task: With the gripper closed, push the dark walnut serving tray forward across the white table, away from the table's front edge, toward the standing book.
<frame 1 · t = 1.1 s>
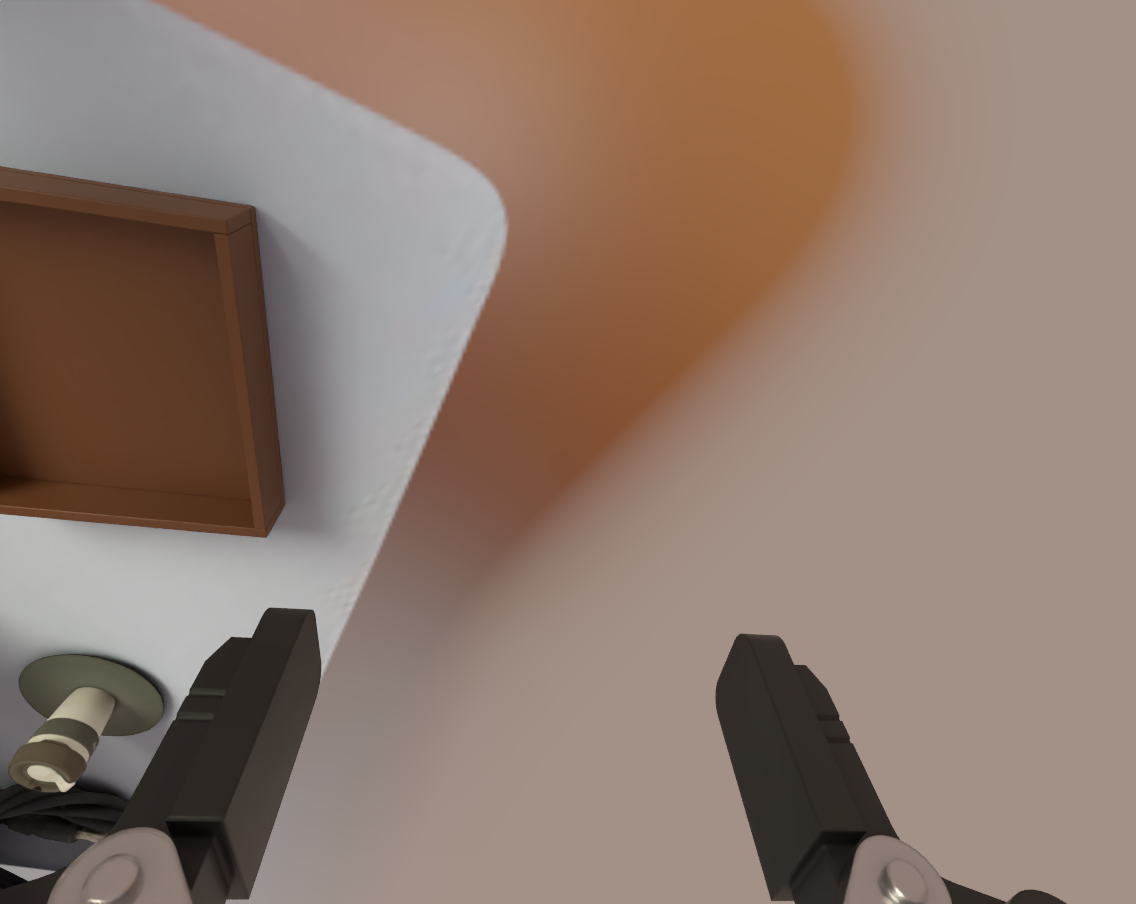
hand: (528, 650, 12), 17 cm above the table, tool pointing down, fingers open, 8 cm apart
tray: (115, 357, 25), on the table
cable: (53, 831, 45), on the table, touching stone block
olive disc with post: (98, 695, 37), on the table
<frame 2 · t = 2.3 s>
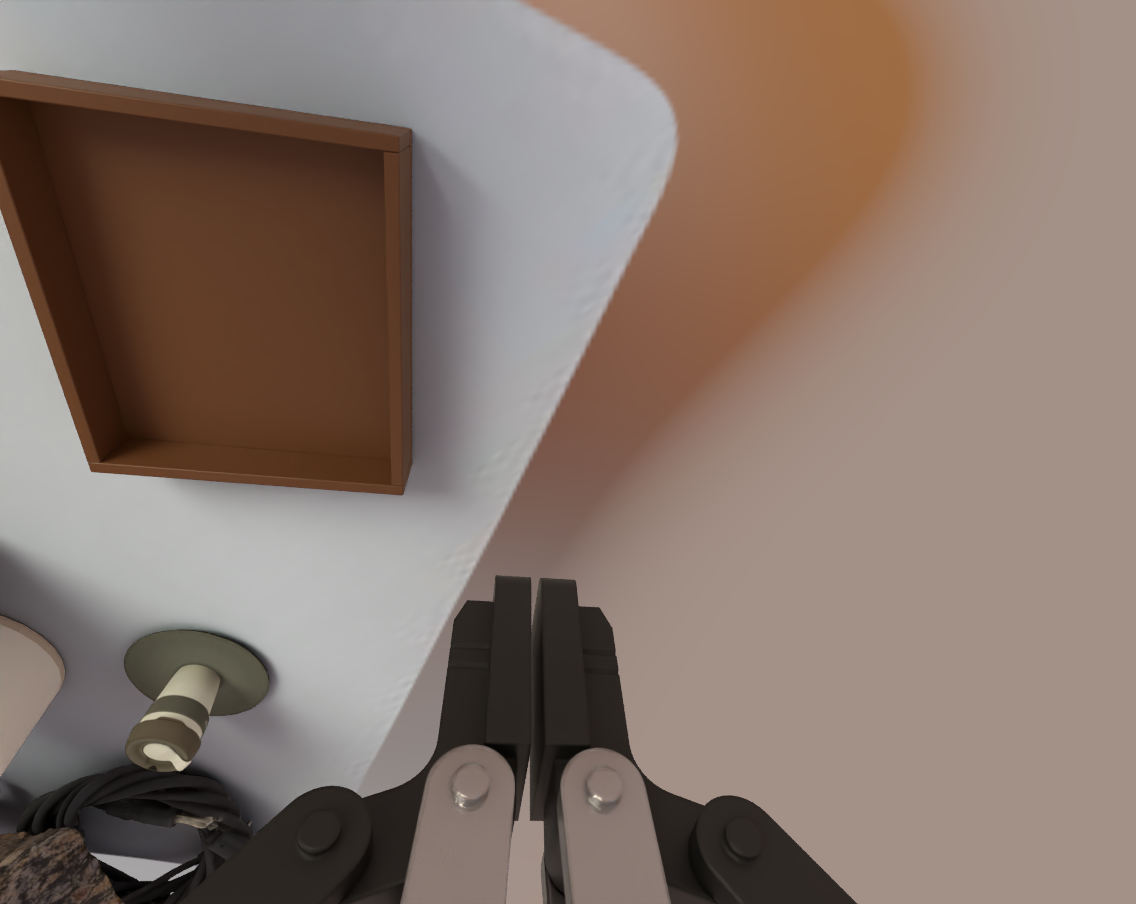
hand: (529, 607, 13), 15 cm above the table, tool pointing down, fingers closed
tray: (250, 303, 24), on the table
cable: (144, 817, 44), on the table, touching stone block
olive disc with post: (202, 673, 35), on the table
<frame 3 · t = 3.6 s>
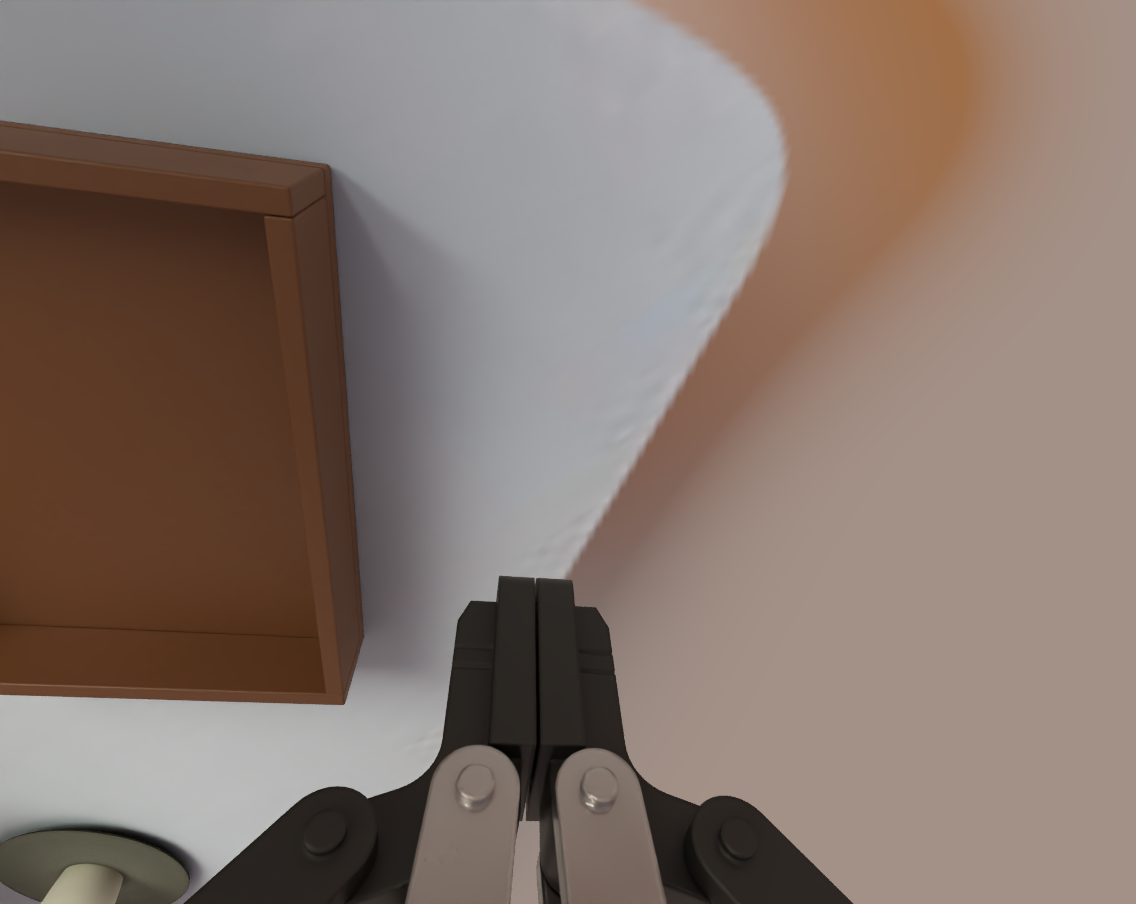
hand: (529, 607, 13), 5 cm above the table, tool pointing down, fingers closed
tray: (91, 436, 15), on the table
olive disc with post: (99, 868, 27), on the table
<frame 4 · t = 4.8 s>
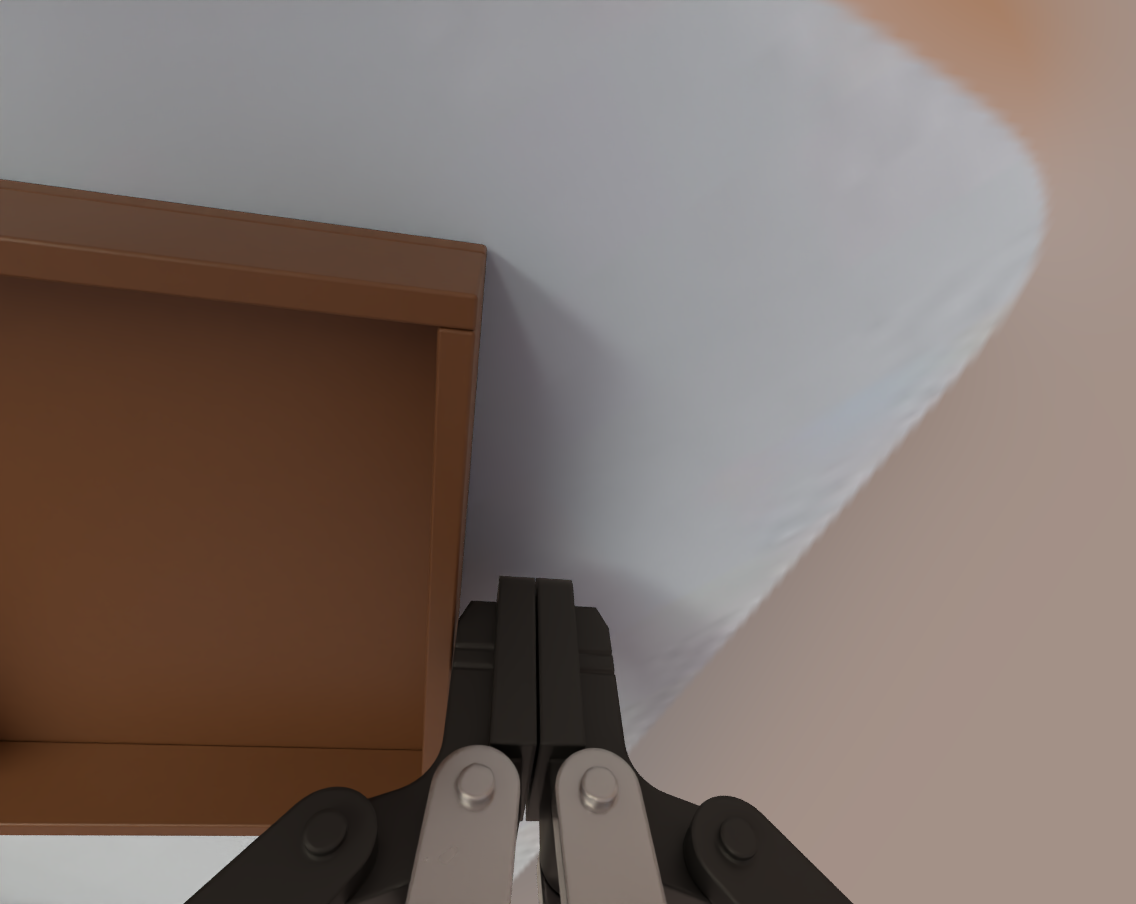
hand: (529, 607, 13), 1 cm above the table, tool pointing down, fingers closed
tray: (161, 543, 13), on the table, touching gripper
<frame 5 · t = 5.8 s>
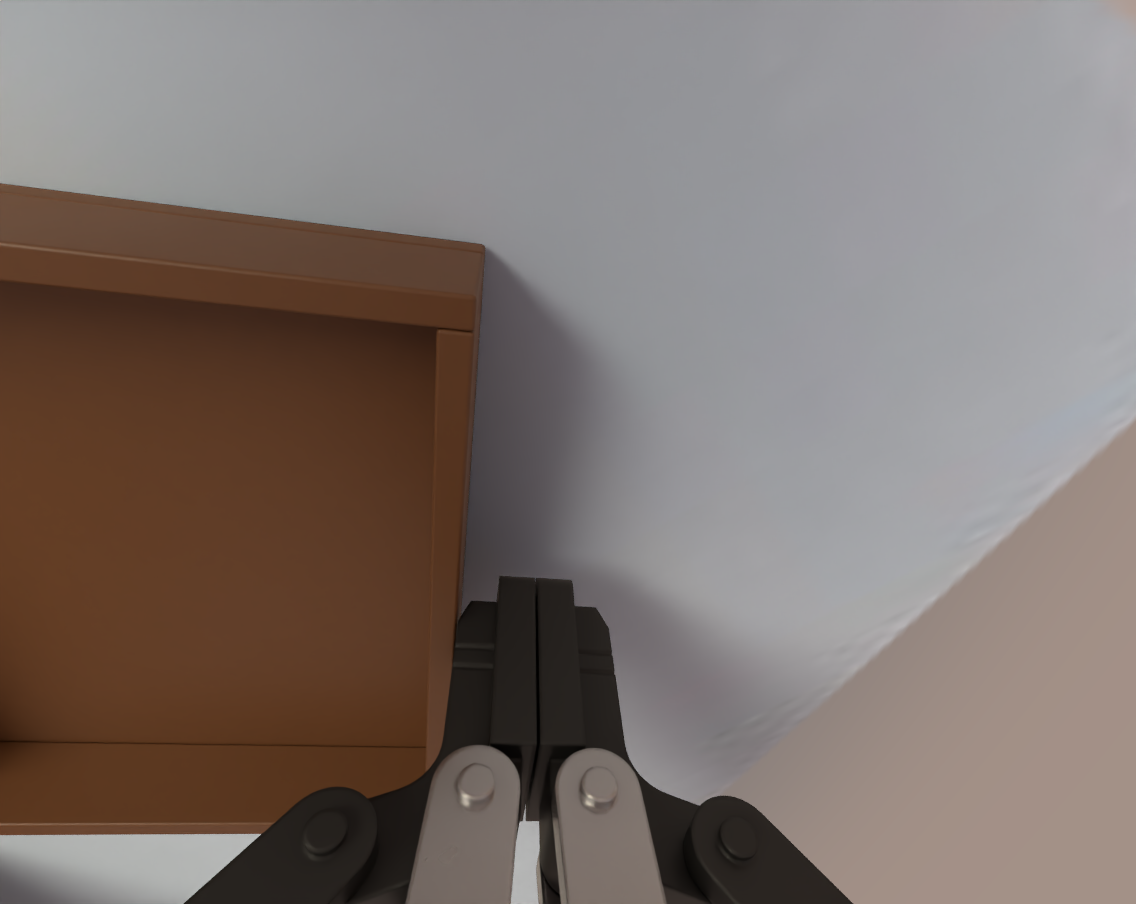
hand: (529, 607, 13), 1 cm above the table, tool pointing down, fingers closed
tray: (163, 544, 13), on the table, touching gripper
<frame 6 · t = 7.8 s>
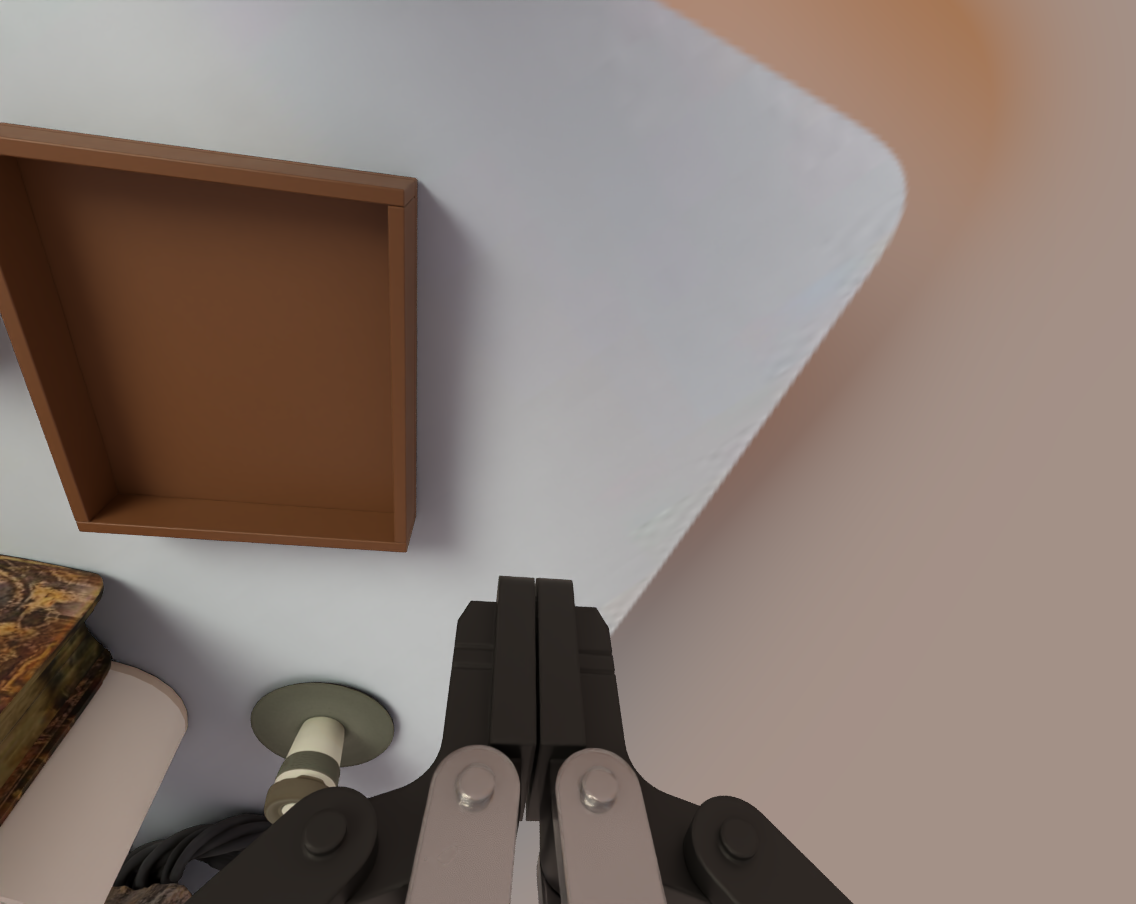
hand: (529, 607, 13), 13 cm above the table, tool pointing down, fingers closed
tray: (248, 356, 23), on the table
cable: (237, 867, 42), on the table, touching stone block
olive disc with post: (325, 725, 34), on the table
mug: (93, 705, 33), on the table
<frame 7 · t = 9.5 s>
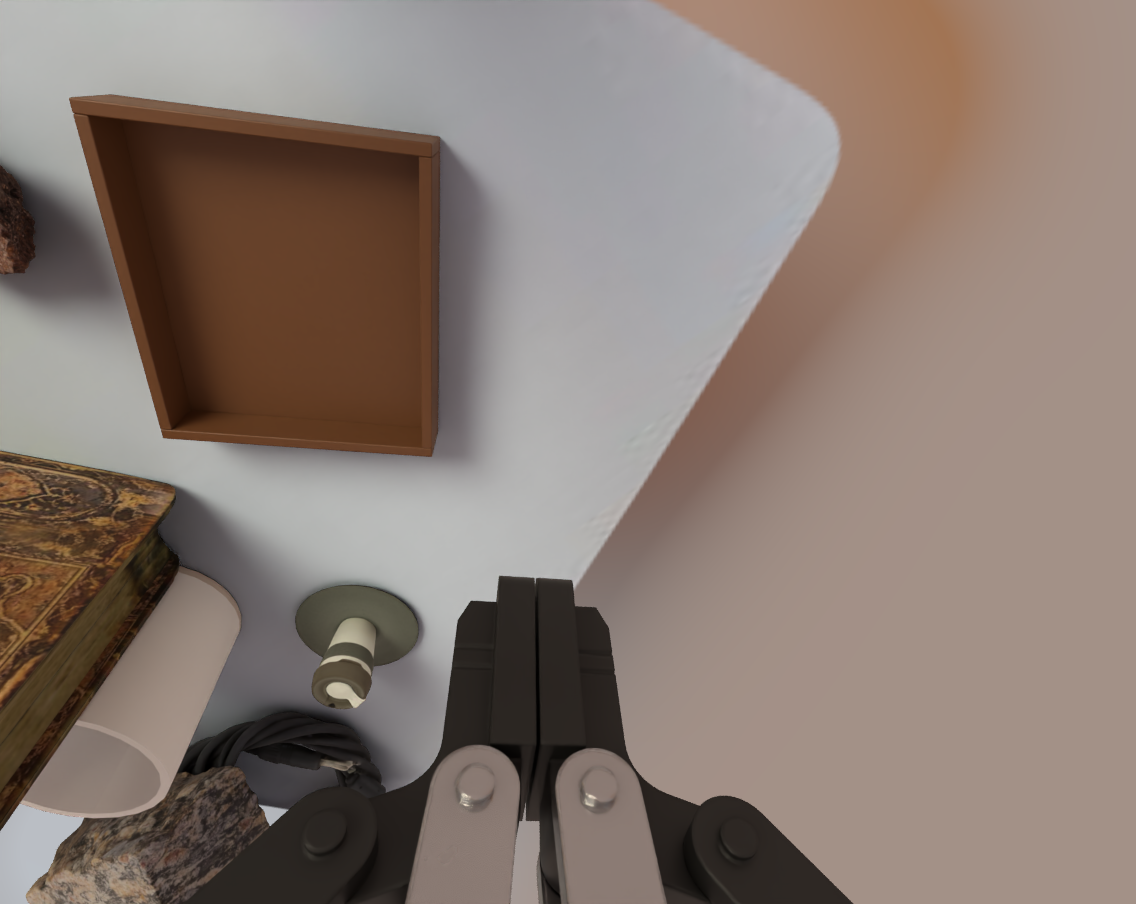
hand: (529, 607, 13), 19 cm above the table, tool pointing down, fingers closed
book: (27, 492, 33), on the table
tray: (300, 289, 28), on the table
cable: (279, 766, 48), on the table, touching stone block
olive disc with post: (359, 626, 40), on the table
mug: (160, 608, 38), on the table
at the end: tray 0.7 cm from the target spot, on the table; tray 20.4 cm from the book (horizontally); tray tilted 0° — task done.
